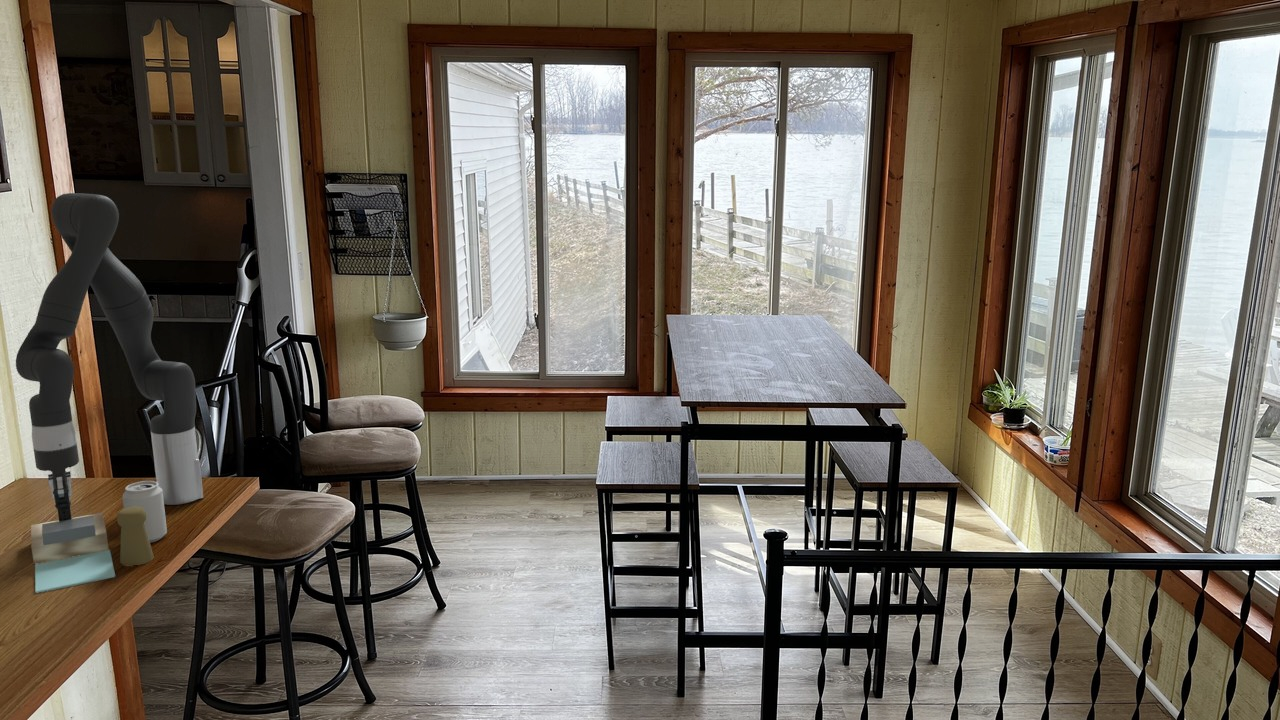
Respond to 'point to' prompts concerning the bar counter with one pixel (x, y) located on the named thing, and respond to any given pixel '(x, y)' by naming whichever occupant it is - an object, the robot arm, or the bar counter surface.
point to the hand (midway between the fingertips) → (65, 523)
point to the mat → (73, 571)
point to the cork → (134, 537)
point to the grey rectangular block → (68, 530)
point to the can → (148, 506)
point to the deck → (68, 543)
